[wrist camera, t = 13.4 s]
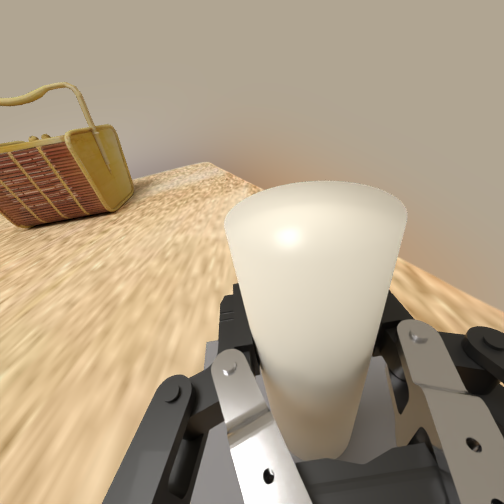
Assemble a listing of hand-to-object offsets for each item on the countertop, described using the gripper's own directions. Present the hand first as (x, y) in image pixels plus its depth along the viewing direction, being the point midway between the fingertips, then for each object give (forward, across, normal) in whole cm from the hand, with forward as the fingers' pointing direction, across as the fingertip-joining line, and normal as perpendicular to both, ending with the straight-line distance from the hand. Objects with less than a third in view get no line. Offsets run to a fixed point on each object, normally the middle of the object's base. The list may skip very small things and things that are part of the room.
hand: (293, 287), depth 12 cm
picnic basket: (+59, +51, +11) cm, 79 cm away
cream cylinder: (-3, 0, +8) cm, 9 cm away
